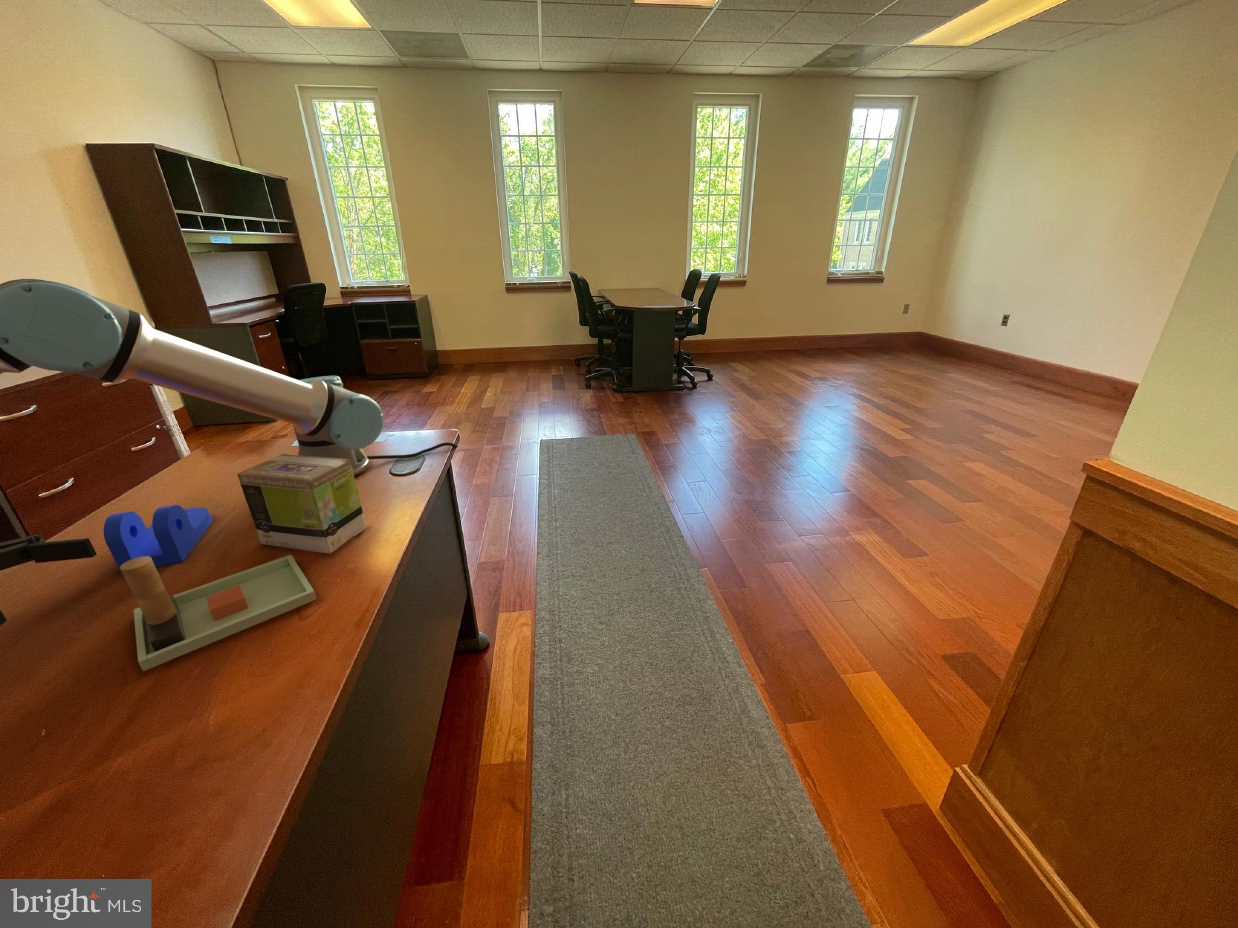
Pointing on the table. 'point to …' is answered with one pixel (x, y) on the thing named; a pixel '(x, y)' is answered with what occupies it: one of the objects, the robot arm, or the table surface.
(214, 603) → the orange flat block
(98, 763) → the table surface
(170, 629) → the brush
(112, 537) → the bracket
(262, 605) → the tray
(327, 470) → the tea box
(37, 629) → the table surface
